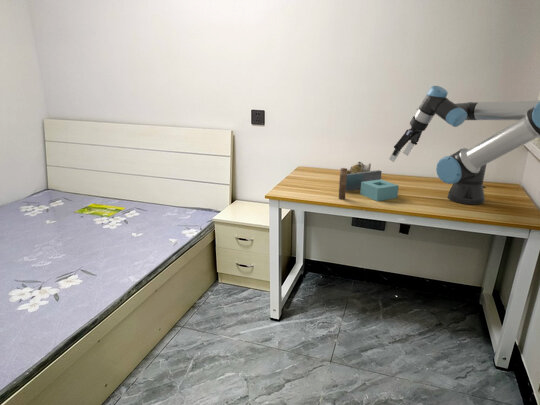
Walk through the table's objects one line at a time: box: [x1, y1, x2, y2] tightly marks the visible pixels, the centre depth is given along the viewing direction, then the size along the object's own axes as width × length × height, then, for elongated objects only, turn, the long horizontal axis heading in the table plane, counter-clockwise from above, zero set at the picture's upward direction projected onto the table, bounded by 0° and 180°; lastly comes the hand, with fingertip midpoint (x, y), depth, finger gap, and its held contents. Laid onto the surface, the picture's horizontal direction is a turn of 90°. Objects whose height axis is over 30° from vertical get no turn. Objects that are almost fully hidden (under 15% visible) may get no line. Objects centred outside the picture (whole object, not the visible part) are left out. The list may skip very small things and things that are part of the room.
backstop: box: [338, 169, 382, 192], centre depth 196 cm, size 2×24×8 cm, turn 115°
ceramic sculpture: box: [347, 161, 372, 174], centre depth 219 cm, size 11×9×15 cm
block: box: [359, 178, 400, 202], centre depth 185 cm, size 12×12×6 cm
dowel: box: [338, 167, 348, 200], centre depth 180 cm, size 3×3×14 cm
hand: (398, 157), depth 190 cm, fingers open, 13 cm apart
